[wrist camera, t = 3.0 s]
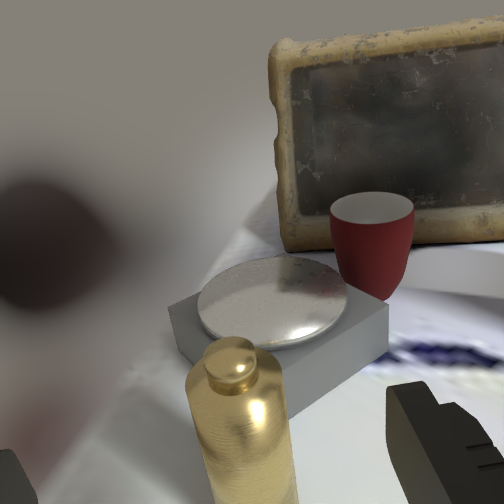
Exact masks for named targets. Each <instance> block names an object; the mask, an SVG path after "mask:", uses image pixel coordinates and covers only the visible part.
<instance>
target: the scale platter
mask: <svg viewBox="0 0 504 504" xmlns="http://www.w3.org/2000/svg"><path fill="white" fill-rule="evenodd" d="M197 306H198V313H199V317H200V321H201V324H202V326H203V328H204V329H205V331H206V332H207V333H208V334H209V335H210V336H211V337H213V338H214V339H215V340H218V339H221V338H224V337H230V336H238V337H243V338H246V339H248V340H249V341H251V342H252V344H253V345H254V347H258V348H261V349H264V350H266V351H276V350H284V349H289V348H294V347H297V346H301V345H304V344H307V343H309V342H311V341H314V340H316V339H318V338H320V337H322V336H323V335H325V334H326V333H328V332H329V331H331V330H332V329H333V328H334V327H335V326H336V325H337V324H338V323H339V322H340V321H341V319H342V318H343V316H344V314H345V312H346V309H347V288H346V284H345V282H344V280H343V279H342V277H341V276H340V275H339V274H338V273H337V272H336V271H335V270H333V269H332V268H330V267H328V266H327V265H325V264H322V263H320V262H317V261H313V260H309V259H305V258H298V257H269V258H262V259H257V260H252V261H248V262H245V263H242V264H239V265H236V266H234V267H231V268H229V269H227V270H225V271H223V272H222V273H220V274H219V275H217V276H216V277H214V278H213V279H212V280H211V281H210V282H209V283H208V284H207V285H206V286H205V287H204V288H203V290H202V292H201V293H200V296H199V298H198V304H197Z"/></svg>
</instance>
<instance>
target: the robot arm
mask: <svg viewBox="0 0 504 504" xmlns="http://www.w3.org/2000/svg"><path fill="white" fill-rule="evenodd" d="M386 443H387V448H388V452H389V456H390V459H391V462H392V465H393V468H394V470H395V472H396V475H397V477H398V479H399V482H400V484H401V486H402V489H403V491H404V493H405V496H406V498H407V500H408V503H409V504H504V458H503V456H502V455H501V453H500V452H499V451H498V449H497V448H496V447H494V445H493V442H492V440H491V439H490V437H489V436H488V434H487V433H486V432H485V430H484V429H483V427H482V426H481V424H480V423H479V421H478V420H477V419H476V418H475V417H473V416H472V415H471V414H469V413H468V412H467V411H465V410H464V409H463V408H462V407H460V406H459V405H458V404H456V403H455V402H451V403H445V404H440V405H439V404H438V402H437V400H436V399H435V397H434V395H433V394H432V392H431V391H430V389H429V387H428V386H427V384H426V383H425V382H423V381H417V382H411V383H405V384H399V385H393V386H388V387H387V389H386ZM0 504H38V499H37V495H36V493H35V491H34V489H33V487H32V485H31V483H30V482H29V479H28V478H27V476H26V474H25V472H24V470H23V468H22V467H21V464H20V463H19V461H18V459H17V457H16V455H15V453H14V452H13V451H12V450H10V449H4V450H0Z"/></svg>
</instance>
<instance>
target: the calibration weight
mask: <svg viewBox="0 0 504 504" xmlns="http://www.w3.org/2000/svg"><path fill="white" fill-rule="evenodd" d="M185 390H186V394H187V398H188V402H189V406H190V410H191V413H192V417H193V421H194V425H195V429H196V433H197V436H198V440H199V444H200V448H201V452H202V456H203V459H204V463H205V467H206V471H207V475H208V479H209V482H210V486H211V490H212V494H213V498H214V501H215V504H299V500H298V492H297V484H296V476H295V469H294V461H293V453H292V445H291V437H290V430H289V422H288V414H287V406H286V398H285V390H284V383H283V375H282V368H281V365H280V363H279V362H278V360H277V359H276V358H275V357H274V356H273V355H272V354H271V353H269V352H268V351H266V350H264V349H261V348H258V347H254V345H253V344H252V342H251V341H249V340H248V339H246V338H243V337H238V336H230V337H224V338H221V339H218V340H216V341H214V342H213V343H211V344H210V345H209V346H208V347H207V348H206V349H205V351H204V354H203V358H202V359H200V360H199V361H198V362H197V363H196V364H195V365H194V366H193V367H192V369H191V370H190V372H189V374H188V376H187V378H186V383H185Z"/></svg>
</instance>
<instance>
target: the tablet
mask: <svg viewBox="0 0 504 504" xmlns="http://www.w3.org/2000/svg"><path fill="white" fill-rule="evenodd" d="M268 77H269V78H268V79H269V95H270V100H271V102H272V104H273V105H274V107H275V109H276V113H277V119H278V135H277V137H276V138H275V140H274V151H275V166H276V170H277V173H278V185H277V192H276V193H277V201H278V211H279V220H280V235H281V239H282V241H283V244H284V248H285V251H286V252H287V253H289V252H300V251H307V250H317V249H334V247H333V243H332V238H331V233H330V213H329V210H330V206H331V205H332V204H333V203H334V202H335V201H336V200H338V199H340V198H342V197H345V196H348V195H351V194H356V193H362V192H388V193H394V194H398V195H401V196H404V197H406V198H408V199H409V200H411V201H412V202H413V204H414V208H415V218H414V233H413V239H412V243H411V244H423V243H448V242H477V241H492V240H504V15H497V16H489V17H481V18H467V19H463V20H458V21H453V22H449V23H444V24H439V25H431V26H424V27H418V28H410V29H402V30H393V31H384V32H376V33H371V34H355V35H348V34H345V35H343V36H340V37H334V38H327V39H320V40H312V41H305V42H294V41H292V40H291V39H290V38H283V39H281V40H279V41H278V42H276V43H275V44H274V45H273V47H272V49H271V50H270V53H269V58H268Z"/></svg>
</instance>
